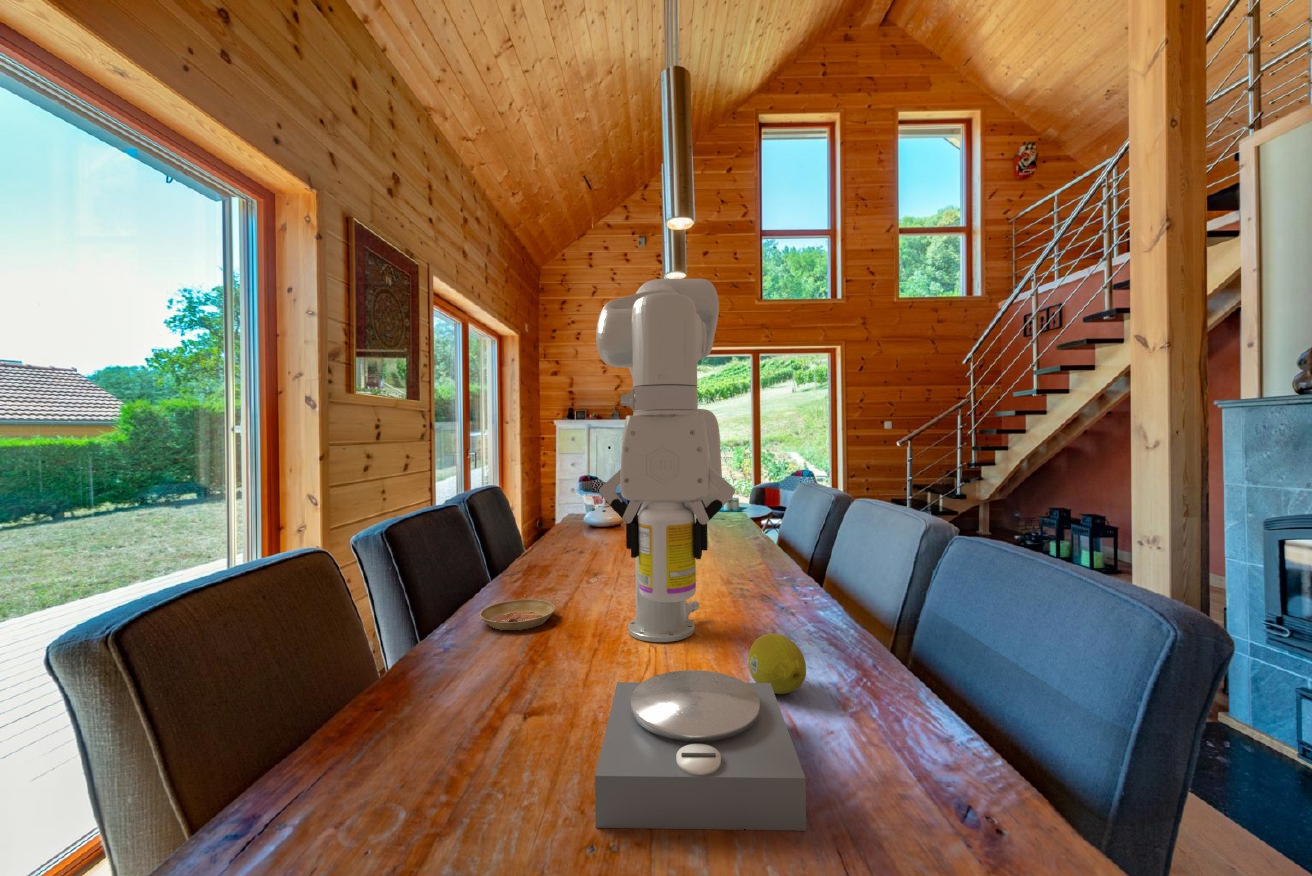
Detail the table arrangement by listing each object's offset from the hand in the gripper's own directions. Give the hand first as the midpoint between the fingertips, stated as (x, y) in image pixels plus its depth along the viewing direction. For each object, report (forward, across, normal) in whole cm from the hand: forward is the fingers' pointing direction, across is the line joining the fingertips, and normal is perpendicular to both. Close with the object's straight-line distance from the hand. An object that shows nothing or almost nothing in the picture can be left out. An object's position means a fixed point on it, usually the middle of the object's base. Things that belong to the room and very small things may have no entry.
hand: (667, 554), depth 66 cm
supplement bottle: (+5, 0, 0) cm, 5 cm away
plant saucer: (+24, -36, +42) cm, 60 cm away
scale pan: (+18, +3, 0) cm, 18 cm away
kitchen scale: (+23, +3, -2) cm, 24 cm away
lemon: (+24, +14, +17) cm, 32 cm away
